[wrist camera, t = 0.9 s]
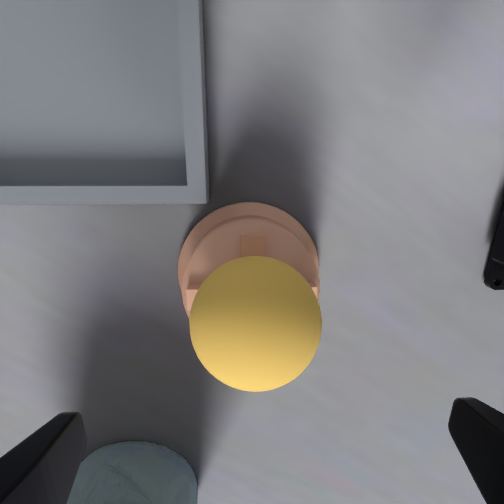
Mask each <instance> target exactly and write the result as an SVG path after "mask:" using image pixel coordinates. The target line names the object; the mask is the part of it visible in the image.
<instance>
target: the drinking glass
mask: <svg viewBox="0 0 504 504" xmlns="http://www.w3.org/2000/svg"><path fill="white" fill-rule="evenodd" d="M197 495H198V492H197V481H196V477H195V474H194V472H193V470H192V468H191V466H190V465H189V463H188V462H187V461H186V459H185V458H183V457H182V456H180V455H179V454H178V453H176V452H175V451H173V450H171V449H168V448H167V446H163V445H156V444H155V443H149V442H146V441H144V442H142V441H126V442H117V443H115V444H109V445H105V446H103V447H101V448H99V449H97V450H95V451H94V452H92V453H91V454H90V455H89V456H87V457H86V458H85V459H84V460H83V461H82V462H81V464H80V466H79V469H78V472H77V475H76V478H75V481H74V484H73V487H72V489H71V492H70V495H69V498H68V501H67V504H197Z"/></svg>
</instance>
